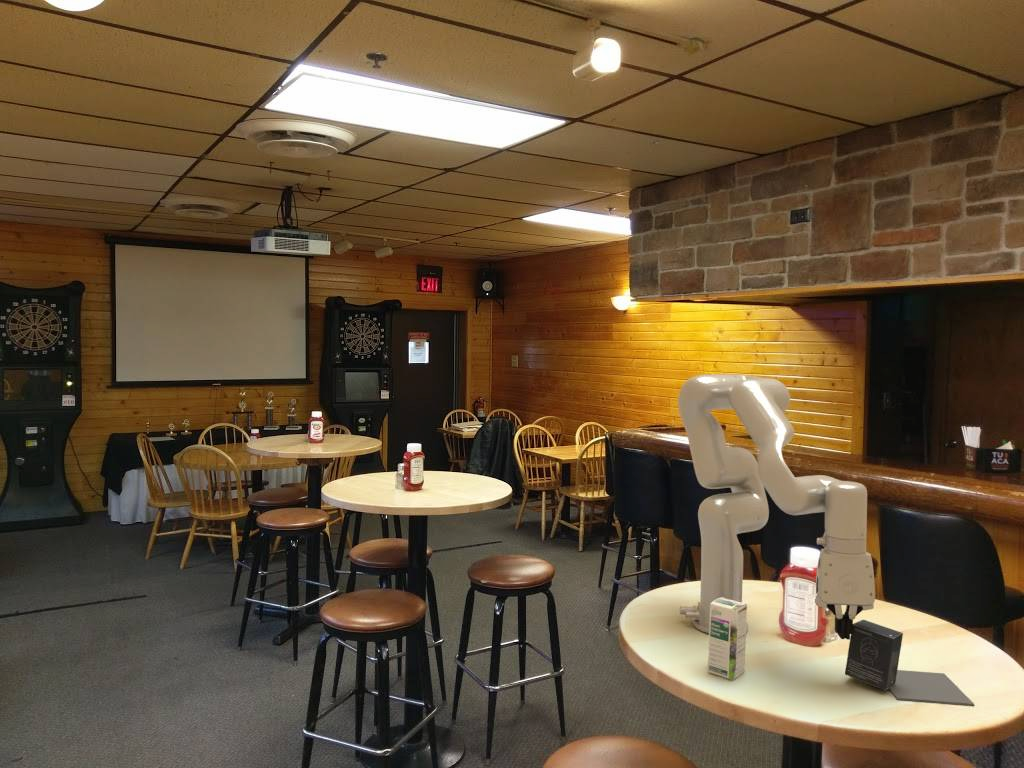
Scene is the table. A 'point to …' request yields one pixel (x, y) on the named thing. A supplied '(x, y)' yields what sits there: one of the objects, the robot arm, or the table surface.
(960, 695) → the mat
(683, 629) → the table surface
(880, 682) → the box
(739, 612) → the syrup box
